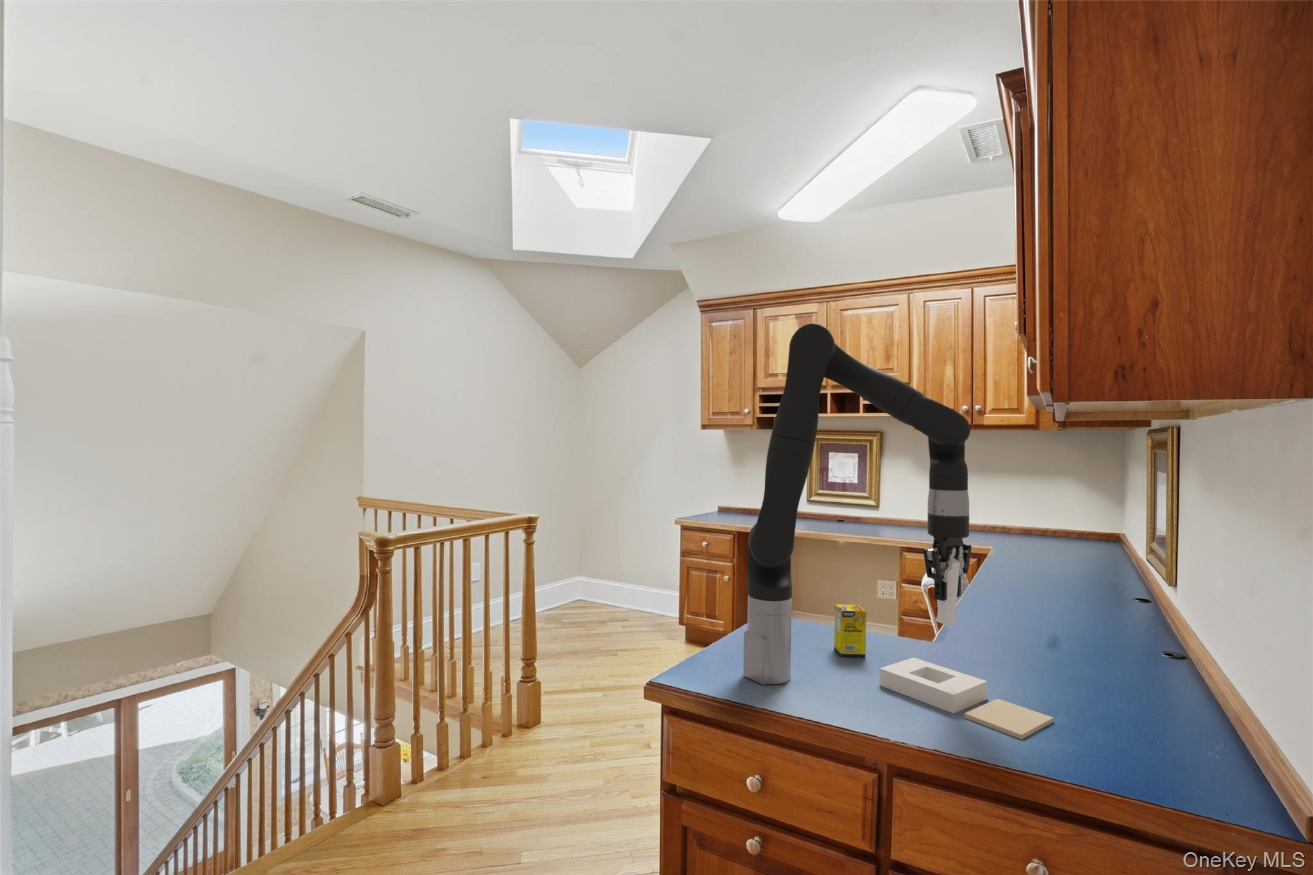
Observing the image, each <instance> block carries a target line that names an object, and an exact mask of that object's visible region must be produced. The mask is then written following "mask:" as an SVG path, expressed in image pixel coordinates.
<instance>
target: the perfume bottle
mask: <svg viewBox="0 0 1313 875" xmlns="http://www.w3.org/2000/svg"><path fill="white" fill-rule="evenodd" d="M946 563H947V562H944V563H940V565H946ZM959 567H960V562H959V561H958V560H956V559H955V558H953V562H952V568H951V570H950V571H948V576H947V581H946V582H947V600H945V601H941V600H937V599H936V601H937V615H936V619H935V622H937V623H940V624H942V625H945V626H948V625H954V626H955V625H958V623H957V622H958V621H957V617H956V610H957V600H958V597H957V590H958V578H959ZM941 572H942V573H943V569H941Z"/></svg>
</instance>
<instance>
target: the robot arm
mask: <svg viewBox="0 0 1313 875" xmlns="http://www.w3.org/2000/svg"><path fill="white" fill-rule="evenodd" d="M788 350H789V351H788V359H787V360H788V362H787V369H786V379H785V384H784V389H783V391H782V396H781V398H780V402H779V405H778V408H777V410H776V415H775V418H774V423H773V427H772V430H771V434H770V439H769V444H768V448H767V455H766V463H765V474H764V491H763V499H762V503H761V507H760V510H759V514H758V517H757V520H756V523H755V524H754V525H753V526H752V527H751V529H750V531H749V534H748V539H747V628H746V629H747V630H745V631H744V633H743V666H742V667H743V670H742V671H743V672H742V673H743V677H745V678H747V679H750V680H751V681H753V682H756V683H758V684H760V685H763V686H765V685H779V684H780V685H781V684H784V683H788V682H789V681H790V680H791V678H792V674H791V672H792V666H791V665H792V610H793V609H792V604H793V603H792V602H793V601H792V600H793V598H792V596H793V584H792V583H793V582H792V569H791V568H792V554H793V551H794V547H795V546H794V545H795V538H796V537H795V534H796V525H797V517H798V510H799V506H800V501H801V497H802V494H803V492H804V488H805V485H806V481H807V477H808V474H809V471H810V470H809V469H810V467H811V463H812V459H813V454H814V451H815V444H816V440H817V434H818V433H817V432H818V425H819V414H820V413H819V412H820V411H819V408H820V395H821V390H822V386H823V383H824V379H825V378H826V379H828V380H830V381H832V382H834V383H836V384H837V385H840V386H842V387H844V388H845V389H847V390H850V391H851V392H853V393H854V394H856V395H857V396H859V397H861V398H862V399H864V400H865V401H866V402H869V403H870V404H871V405H873V406H874V407H876V408H878V409H879V410H880V411H882V412H883V413H886V414H887V415H889V417H890V416H891V417H892V418H894V419H895V420H897V421H899V422H901V423H903V424H905V425H908V426H911V427H912V428H914V429H916V430H917V431H919V432H921V433H922V434H923V435H925V437H927V443H928V454H929V455H928V456H929V470H928V471H929V472H928V474H929V476H928V479H929V480H928V481H929V482H928V483H929V485H928V496H927V535H929V536H932V537H933V542H932V545H931V546H932V547H931V548H930V549H929V548H924V549H923V552H922V553H923V559H924V565H925V571H926V577H927V578H929V579H932V580H933V582H934V583H933V584H934V592H933V594H934V595H933V596H934V599H935V600H936V601H937V600H941V601H945V600H947V582H946V581H947V576H948V571H950V570H951V568H952V562H953V558H955V559H956V560H958V561H959V562H960V567H959V578H958V590H957V598H958V597H961V596H962V579H963V578H964V574H965V575H967V574H969V567H970V561H971V560H970V559H971V555H972V554H971V553H972V544H968V543H964V541H963V539H966V538H969V536H970V497H969V491H968V490H969V483H968V482H969V474H968V473H969V471H968V465H967V463H966V460H965V459H966V451H965V450H966V441H967V440H968V438H969V436H970V434H971V424H970V423H969V421H968V419H967V417H965V416H964V415H963V414H962V413H961V412H958V411H957V410H955V409H953V408H951V407H949V406H948V405H945V404H943V403H940V402H938V401H936V400H934V399H932V398H930V397H928V396H926V395H925V394H923V392H921V391H919V390H918V389H916V388H914V387H912V386H911V385H910V384H907V383H906V382H905V381H903V380H901V379H898V378H896V377H894V376H892V375H890V374H888V373H886V372H884V371H881V370H879V369H876V368H875V367H872V366H870V365H869V364H868V365H867V364H866V363H863V362H862V361H860V360H858V359H856V358H855V357H853V356H851V354H849V353H848V352H846V351H845V350H843V349H842V348H841V347H840V346H839V345H837V344H836V343H835V339H834V335H833V334H832V332H830V330H829V329H828V328H827V327H826V326H824V325H821V324H819V323H816V322H815V323H814V322H811V323H807V324H804V325H801V327H799V328H798V329H797V330H796V331H795V332H794V333H793V335H792V336H791V338H790V341H789V348H788ZM944 562H947V563H946V565H940V563H944ZM941 569H943V573H942V572H941Z"/></svg>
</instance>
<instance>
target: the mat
mask: <svg viewBox="0 0 1313 875" xmlns="http://www.w3.org/2000/svg"><path fill="white" fill-rule="evenodd" d="M963 717H964V719H967V720H969V721H972V722H974V723H978V724H980V725H983V726H985V727H987V728H991V729H993V730H996V731H998V732H1000V733H1003V734H1006V735H1009V736H1011V737H1014V738H1016V739H1019V740H1023V739H1025V738H1027V737H1029V736H1030V735H1033V734H1034V733H1036V732H1038V731H1040V730H1042V729H1043V728H1045V727H1047V726H1049V725H1051V724H1053V723H1054V717H1053V716H1051V715H1046V714H1045V713H1041V712H1038V711H1035V710H1032V709H1029V708H1027V707H1024V706H1021V705H1018V704H1015V703H1012V702H1008V701H1006V700H1003V699H1000V698H996V699H993V700H991V701H989V702H986V703H984V704H982V705H980V706H977V707H975V708H973V709H971V710H968V711H966V712H965V713H964V715H963Z"/></svg>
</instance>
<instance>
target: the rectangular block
mask: <svg viewBox="0 0 1313 875" xmlns="http://www.w3.org/2000/svg"><path fill="white" fill-rule="evenodd" d="M879 686H880V687H883V688H886V689H889V690H890V691H894V692H896V693H899V694H901V695H904V696H907V697H909V698H912V699H914V700H917V701H920V702H922V703H925V704H926V705H927V704H928V705H931V706H932V707H935V708H938V709H941V710H944V711H945V712H949V713H952V714H957V713H959V712H961V711H963V710H966V709H967V708H968V709H969V707H972V706H975V705H977V704H979V703H981V702H984V701H985V700H988V681H987V680H985V679H981V678H979V677H975V676H972V675H969V674H966V673H963V672H960V671H957V670H955V669H954V670H953V669H951V668H948V667H944V666H941V665H938V664H935V663H932V662H929V661H926V660H923V659H920V658H916V657H910V658H907V659H904V660H901V661H899V662H895V663H892V664H889V665H887V666H884V667H880V668H879Z"/></svg>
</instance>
